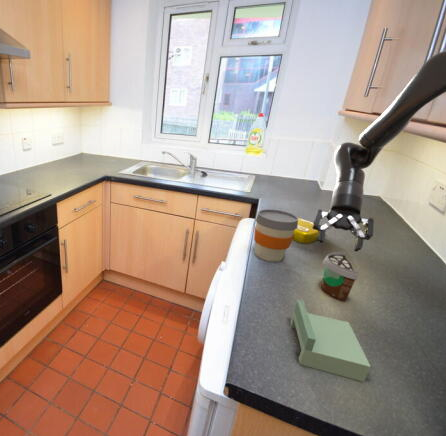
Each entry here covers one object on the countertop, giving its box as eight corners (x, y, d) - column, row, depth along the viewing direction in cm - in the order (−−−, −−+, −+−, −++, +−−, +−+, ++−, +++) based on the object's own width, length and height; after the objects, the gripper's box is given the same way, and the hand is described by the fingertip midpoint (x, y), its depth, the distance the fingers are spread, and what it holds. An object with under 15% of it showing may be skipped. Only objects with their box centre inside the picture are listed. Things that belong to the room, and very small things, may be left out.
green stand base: (343, 335, 68) (352, 311, 66) (363, 382, 57) (376, 354, 54) (290, 323, 72) (297, 299, 69) (299, 364, 61) (308, 337, 58)
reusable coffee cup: (293, 266, 97) (305, 224, 92) (253, 262, 99) (262, 220, 94) (281, 248, 109) (291, 210, 103) (245, 245, 111) (253, 207, 105)
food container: (312, 276, 92) (321, 247, 88) (335, 281, 90) (345, 252, 86) (320, 299, 81) (330, 267, 77) (346, 305, 79) (359, 273, 75)
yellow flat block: (325, 237, 119) (328, 226, 118) (305, 245, 112) (308, 233, 110) (289, 224, 131) (292, 214, 129) (268, 230, 124) (271, 220, 122)
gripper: (322, 188, 91) (312, 235, 86) (380, 197, 84) (374, 248, 80) (317, 200, 97) (307, 245, 92) (371, 209, 91) (364, 257, 86)
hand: (338, 246), depth 86 cm, fingers open, 8 cm apart
